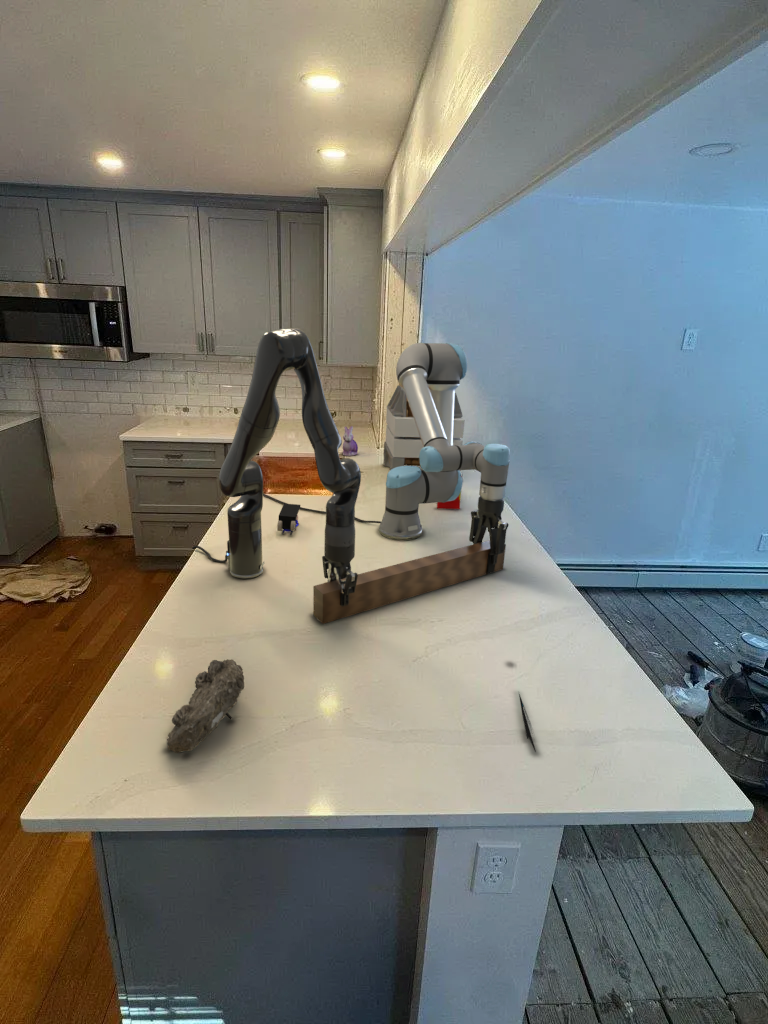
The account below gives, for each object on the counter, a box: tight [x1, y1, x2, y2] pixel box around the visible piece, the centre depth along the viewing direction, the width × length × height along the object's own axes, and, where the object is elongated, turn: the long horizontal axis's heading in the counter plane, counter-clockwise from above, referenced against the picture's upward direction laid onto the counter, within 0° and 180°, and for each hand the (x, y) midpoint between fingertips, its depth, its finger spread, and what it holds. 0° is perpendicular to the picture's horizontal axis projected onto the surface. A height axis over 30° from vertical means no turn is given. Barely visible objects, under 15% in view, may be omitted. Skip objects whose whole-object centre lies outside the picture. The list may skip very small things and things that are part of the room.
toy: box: [436, 475, 463, 510], centre depth 238 cm, size 12×13×30 cm
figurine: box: [342, 425, 359, 457], centre depth 302 cm, size 9×10×15 cm
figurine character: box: [276, 503, 301, 536], centre depth 198 cm, size 7×8×15 cm
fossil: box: [166, 658, 245, 754], centre depth 106 cm, size 22×10×15 cm
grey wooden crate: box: [383, 384, 465, 472], centre depth 268 cm, size 34×33×41 cm
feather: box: [517, 691, 537, 753], centre depth 115 cm, size 2×28×2 cm
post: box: [312, 539, 507, 625], centre depth 159 cm, size 64×5×8 cm, turn 125°
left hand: (338, 600), depth 145 cm, fingers closed on post, 5 cm apart
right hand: (483, 568), depth 174 cm, fingers closed on post, 5 cm apart
